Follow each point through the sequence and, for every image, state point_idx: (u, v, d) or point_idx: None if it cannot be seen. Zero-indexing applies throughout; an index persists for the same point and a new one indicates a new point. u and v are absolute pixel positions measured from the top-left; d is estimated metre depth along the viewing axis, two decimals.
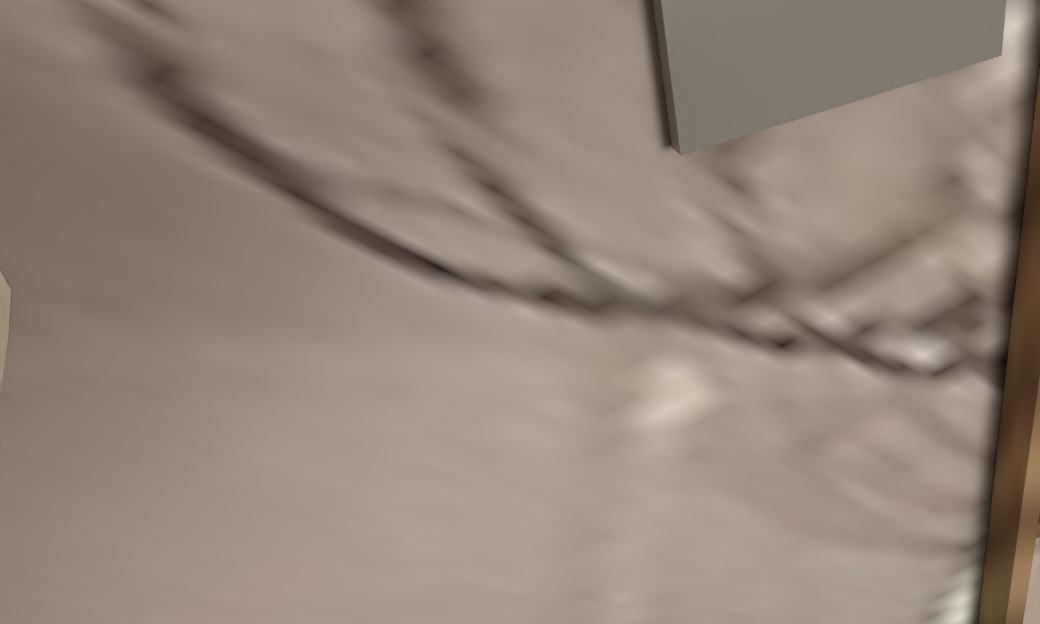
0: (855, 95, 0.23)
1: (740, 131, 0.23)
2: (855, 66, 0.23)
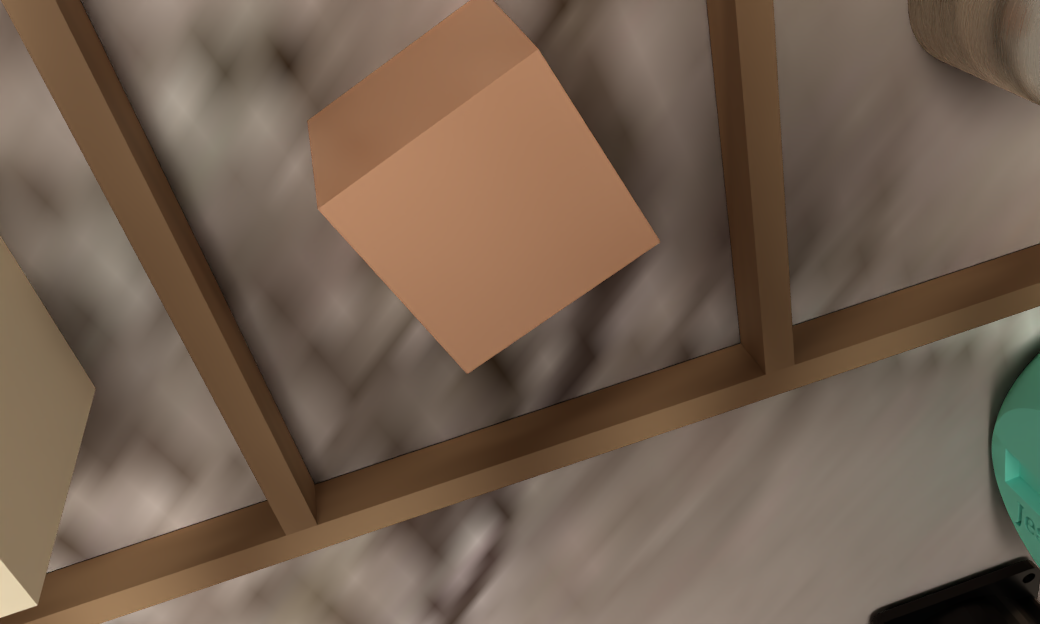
0: None
1: None
2: None
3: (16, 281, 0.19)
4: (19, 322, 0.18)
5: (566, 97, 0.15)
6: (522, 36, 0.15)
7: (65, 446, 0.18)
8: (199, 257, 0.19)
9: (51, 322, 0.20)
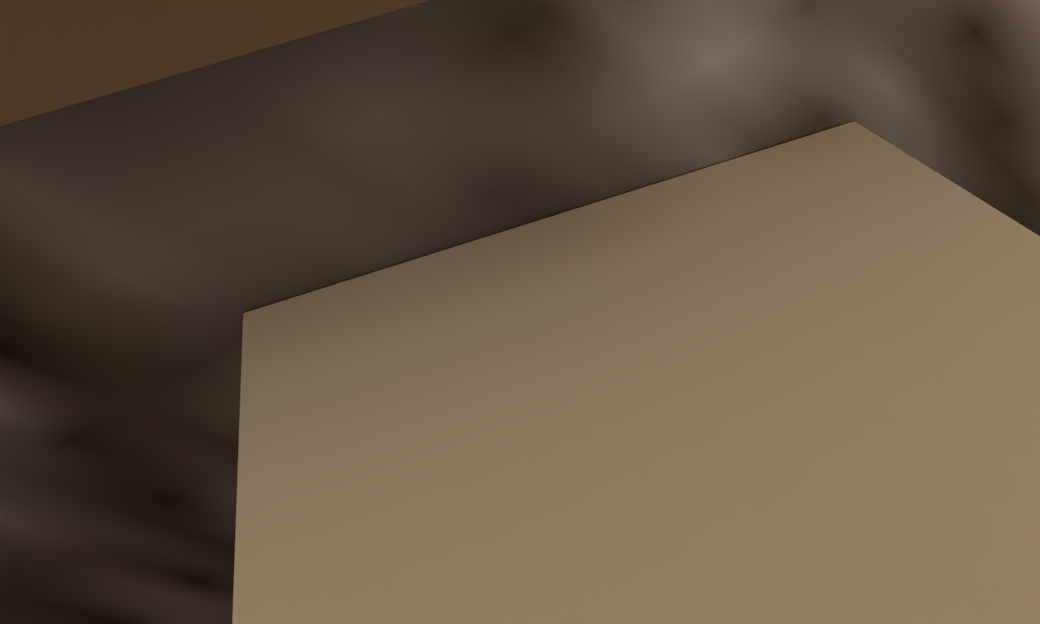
0: None
1: None
2: None
3: None
4: None
5: None
6: None
7: None
8: None
9: None
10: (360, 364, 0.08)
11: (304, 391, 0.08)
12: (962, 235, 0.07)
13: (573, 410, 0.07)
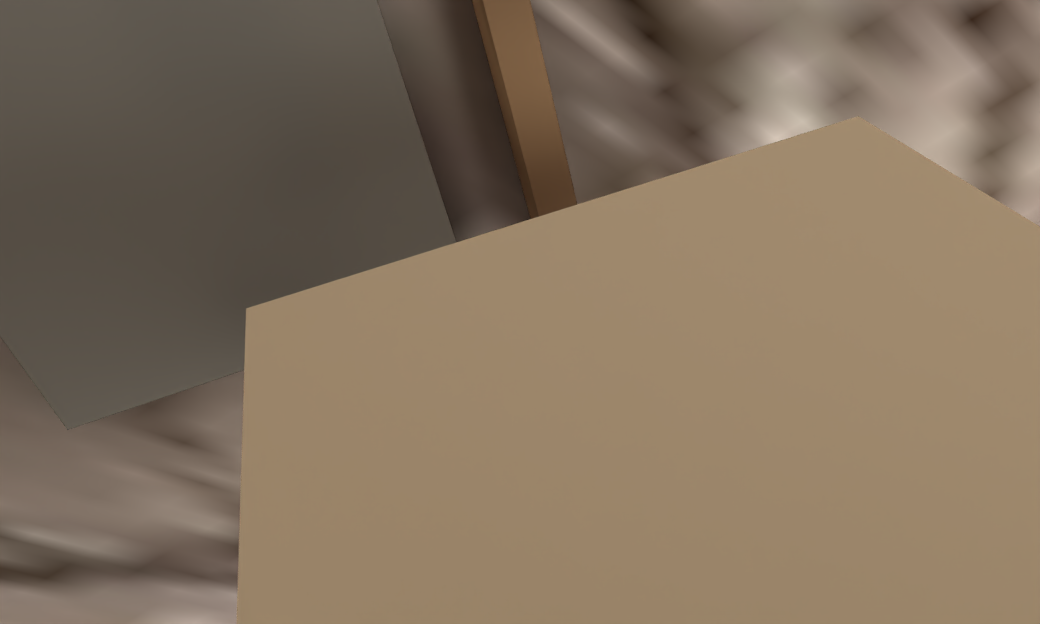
0: None
1: (139, 399, 0.19)
2: None
3: None
4: None
5: None
6: None
7: None
8: None
9: None
10: (363, 360, 0.08)
11: (307, 385, 0.08)
12: (967, 230, 0.07)
13: (578, 405, 0.07)
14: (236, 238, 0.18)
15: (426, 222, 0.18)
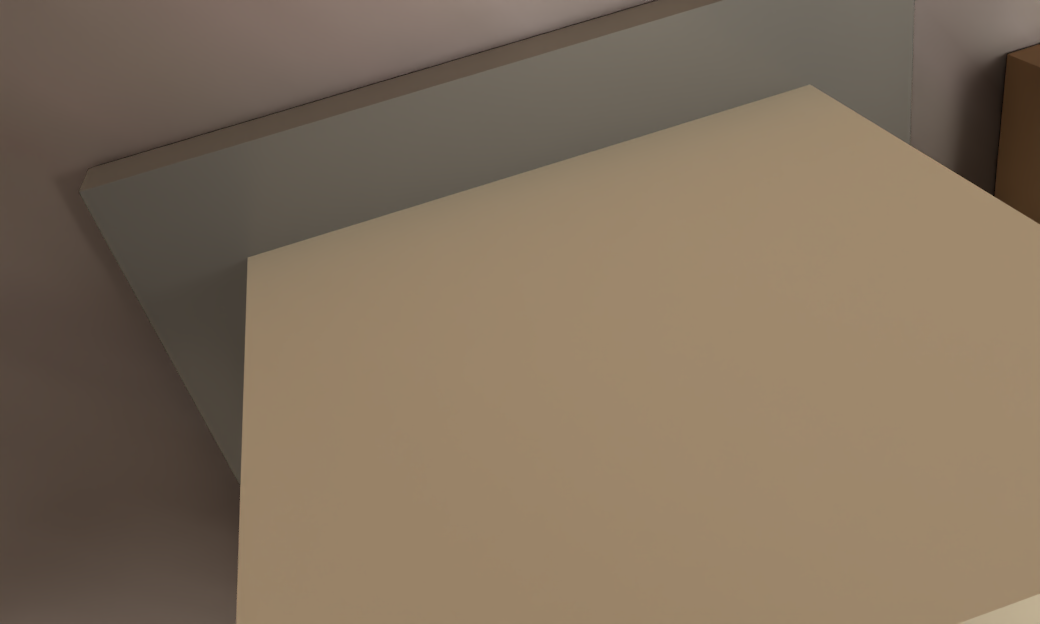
0: None
1: None
2: None
3: None
4: None
5: None
6: None
7: None
8: None
9: None
10: (353, 297, 0.09)
11: (304, 320, 0.08)
12: (895, 179, 0.08)
13: (543, 327, 0.07)
14: None
15: None
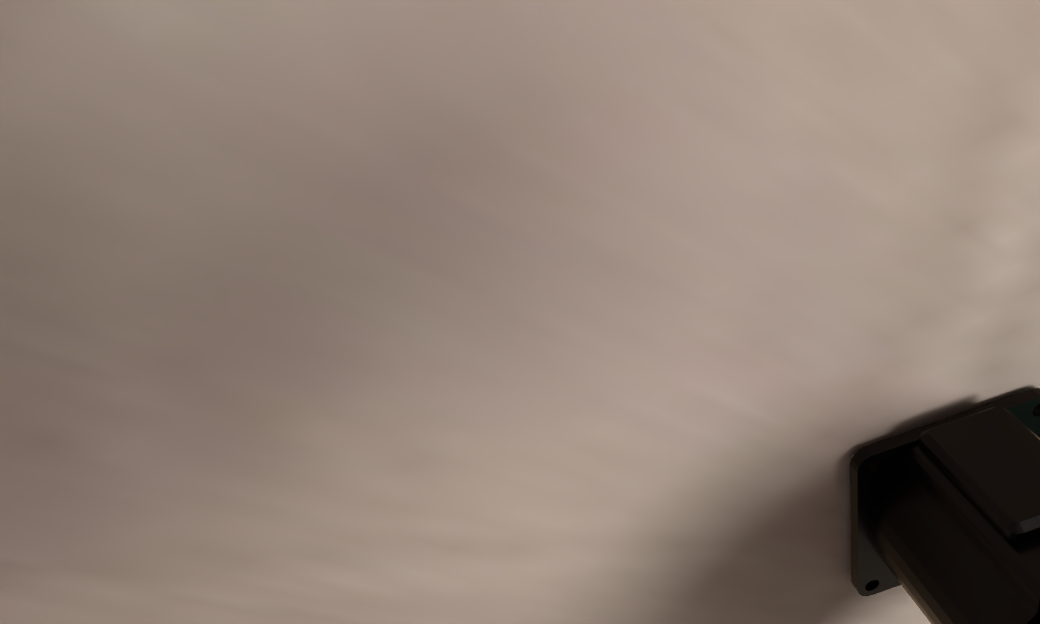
0: None
1: None
2: None
3: None
4: None
5: None
6: None
7: None
8: None
9: None
10: None
11: None
12: None
13: None
14: None
15: None
